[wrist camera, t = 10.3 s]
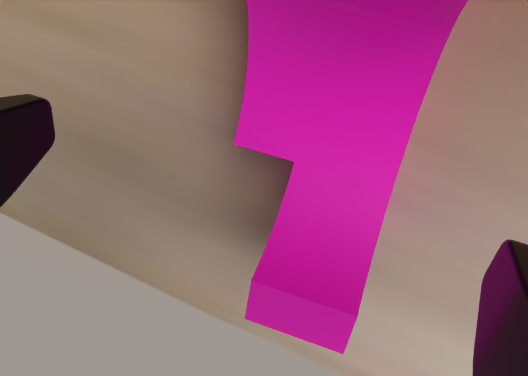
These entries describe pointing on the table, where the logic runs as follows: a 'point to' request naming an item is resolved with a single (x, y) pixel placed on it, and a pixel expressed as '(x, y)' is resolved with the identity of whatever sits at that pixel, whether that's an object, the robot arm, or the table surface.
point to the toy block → (332, 144)
